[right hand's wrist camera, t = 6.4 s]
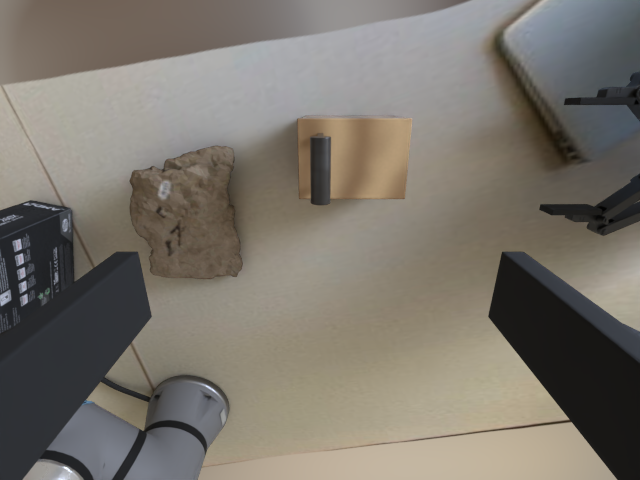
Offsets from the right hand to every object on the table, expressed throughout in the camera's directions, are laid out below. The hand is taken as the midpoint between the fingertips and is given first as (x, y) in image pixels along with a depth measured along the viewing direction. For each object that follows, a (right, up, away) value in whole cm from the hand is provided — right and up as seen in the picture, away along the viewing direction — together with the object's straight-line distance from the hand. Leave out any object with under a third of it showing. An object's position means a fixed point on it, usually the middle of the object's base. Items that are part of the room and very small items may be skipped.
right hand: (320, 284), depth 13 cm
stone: (-19, +6, +41) cm, 46 cm away
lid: (+4, +12, +29) cm, 32 cm away
